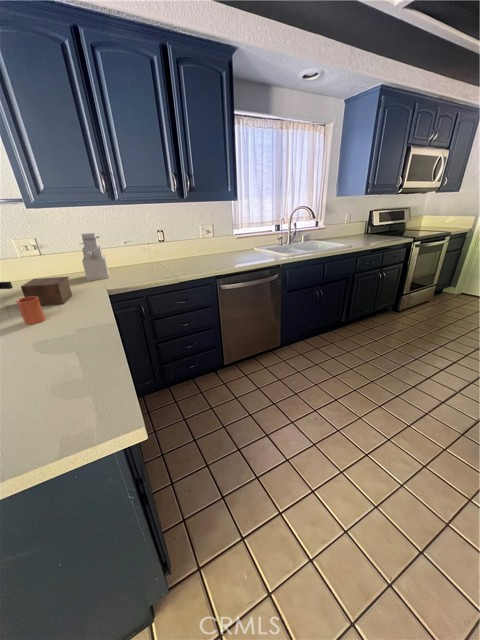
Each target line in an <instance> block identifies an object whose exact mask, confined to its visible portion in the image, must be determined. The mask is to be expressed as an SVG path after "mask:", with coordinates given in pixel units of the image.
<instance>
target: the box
mask: <svg viewBox="0 0 480 640" xmlns="http://www.w3.org/2000/svg"><path fill="white" fill-rule="evenodd" d="M20 290H21V292H22V294H23V296H24V297H23V298H25V297H31V296H36V297H38V298H39V301H40V304H41V306H42V307H49V306H59V305H64V304H66V303H67V302H68V301H69V300H70V299H71V298H72V297H73V293H72V290H71V286H70V283H69V278H68V279H67V280H66V281H64V282H63V283H62V284H61V285H57V286H43V287H29V288H21V287H20Z"/></svg>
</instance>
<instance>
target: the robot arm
mask: <svg viewBox="0 0 480 640" xmlns="http://www.w3.org/2000/svg"><path fill="white" fill-rule="evenodd" d="M13 288H14V287H13V284H12V282H11V281H0V290H11V289H13Z"/></svg>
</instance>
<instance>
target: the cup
mask: <svg viewBox="0 0 480 640" xmlns="http://www.w3.org/2000/svg"><path fill="white" fill-rule="evenodd" d="M15 302H16V305H17V308H18V311H19V312H20V316H21V317H22V320H23V322H24V324H25V325H28V326H29V325H32V326H33V325H37V324H40V323H43V322H44V321H46V320H47V319H46V315H45V313H44V309H43V306H41V304H40V301H39V298H38V297H36V296H31V297H21V298H19V299H17V300H16V301H15Z"/></svg>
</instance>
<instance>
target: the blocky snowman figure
mask: <svg viewBox="0 0 480 640" xmlns="http://www.w3.org/2000/svg"><path fill="white" fill-rule="evenodd" d="M81 239H82V242H81V243H79V245H83V247H82V249H81V251H82V255H83V258H82V260H81V262H82V265H83V270H84V274H85V277H86V281H87V282H88V281H95V280H103V279H104V280H105V279H110V271H109V268H108V262H107V259H106V255H104V254H103V251H102V246H101V245H98V240H97V239H100V236H99V235H97V236H96V233H95V232H87V233H81Z"/></svg>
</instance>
